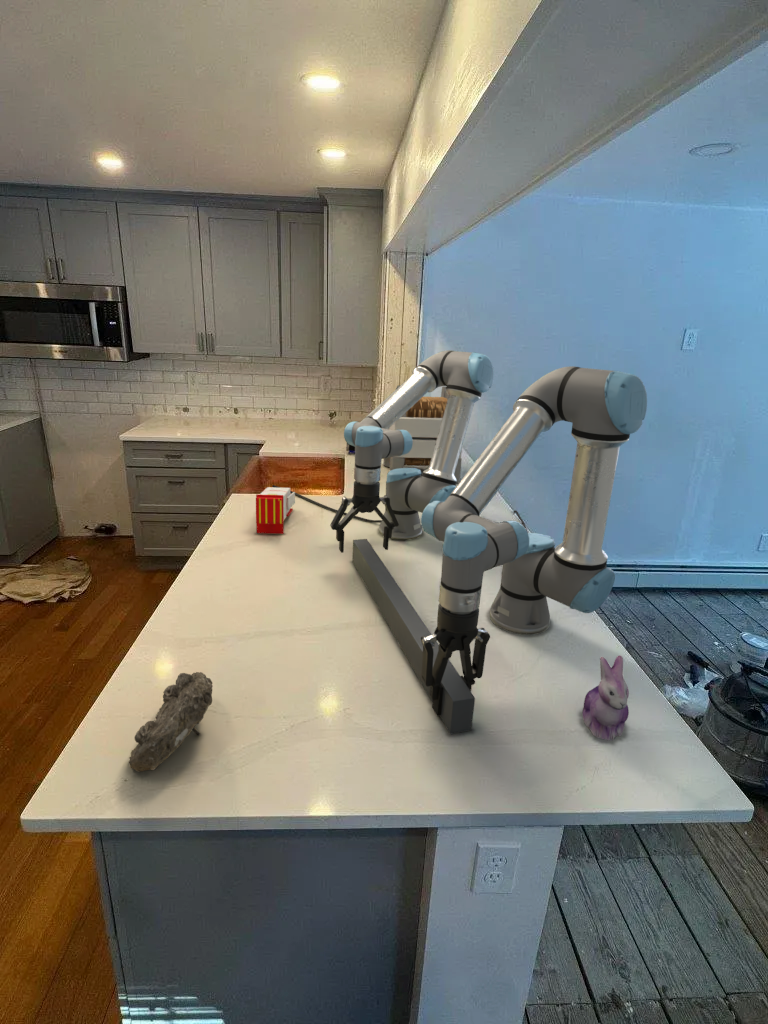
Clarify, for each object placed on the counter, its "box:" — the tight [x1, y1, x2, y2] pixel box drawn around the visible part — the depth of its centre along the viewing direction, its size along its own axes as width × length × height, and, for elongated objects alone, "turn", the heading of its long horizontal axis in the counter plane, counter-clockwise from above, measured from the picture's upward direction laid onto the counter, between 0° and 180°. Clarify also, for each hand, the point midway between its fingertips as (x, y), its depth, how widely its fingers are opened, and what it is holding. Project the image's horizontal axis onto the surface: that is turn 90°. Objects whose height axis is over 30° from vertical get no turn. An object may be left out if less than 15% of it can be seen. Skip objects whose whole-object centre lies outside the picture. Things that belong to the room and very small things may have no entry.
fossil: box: [128, 671, 213, 773], centre depth 102 cm, size 22×10×15 cm
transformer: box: [383, 384, 463, 484], centre depth 268 cm, size 34×33×41 cm
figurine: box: [581, 654, 630, 741], centre depth 108 cm, size 9×10×15 cm
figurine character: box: [345, 442, 355, 455], centre depth 308 cm, size 7×8×15 cm
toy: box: [255, 486, 296, 535], centre depth 206 cm, size 12×13×30 cm
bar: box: [352, 538, 476, 735], centre depth 141 cm, size 78×4×8 cm, turn 17°
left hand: (363, 549), depth 169 cm, fingers open, 13 cm apart
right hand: (448, 709), depth 112 cm, fingers closed on bar, 4 cm apart
